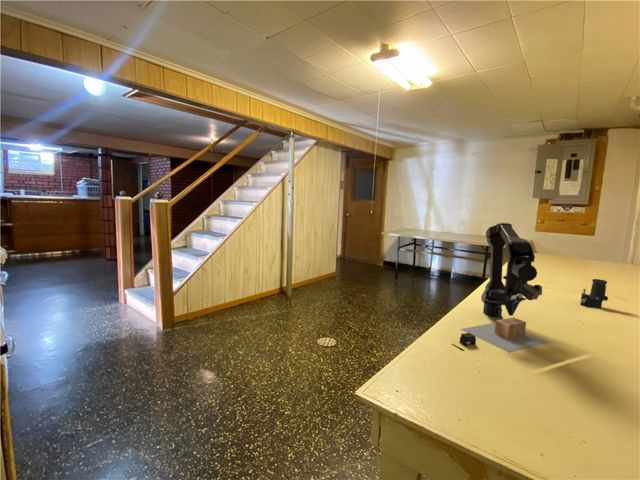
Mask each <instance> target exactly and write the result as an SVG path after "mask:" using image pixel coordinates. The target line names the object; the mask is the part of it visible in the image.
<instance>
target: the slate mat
mask: <svg viewBox="0 0 640 480" xmlns="http://www.w3.org/2000/svg"><path fill="white" fill-rule="evenodd" d="M495 324H496V321H495V322H490V323H485V324H480V325H475V326H470V327H464V328H460V330H461V331H462V332H465V333H471V334H473V335H474V336H476V337H475V338H477V339H479V340H482V341H484V342H486V343H488V344H491V345H493V346H494V347H496V348H498V349H501V350H503V351H506V352H507V353H514V352H518V351H521V350H525V349H529V348H532V347H537V346H540V345H544V344H545V345H546V344H549V343H550V341H548V340H546V339H543V338H541V337H538V336H535V335H533V334H530V333H528V332H526V331H525V335H521V336H517V337H513V338H508V339H506V338H504V337H502V336H500V335H497V334H495Z"/></svg>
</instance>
